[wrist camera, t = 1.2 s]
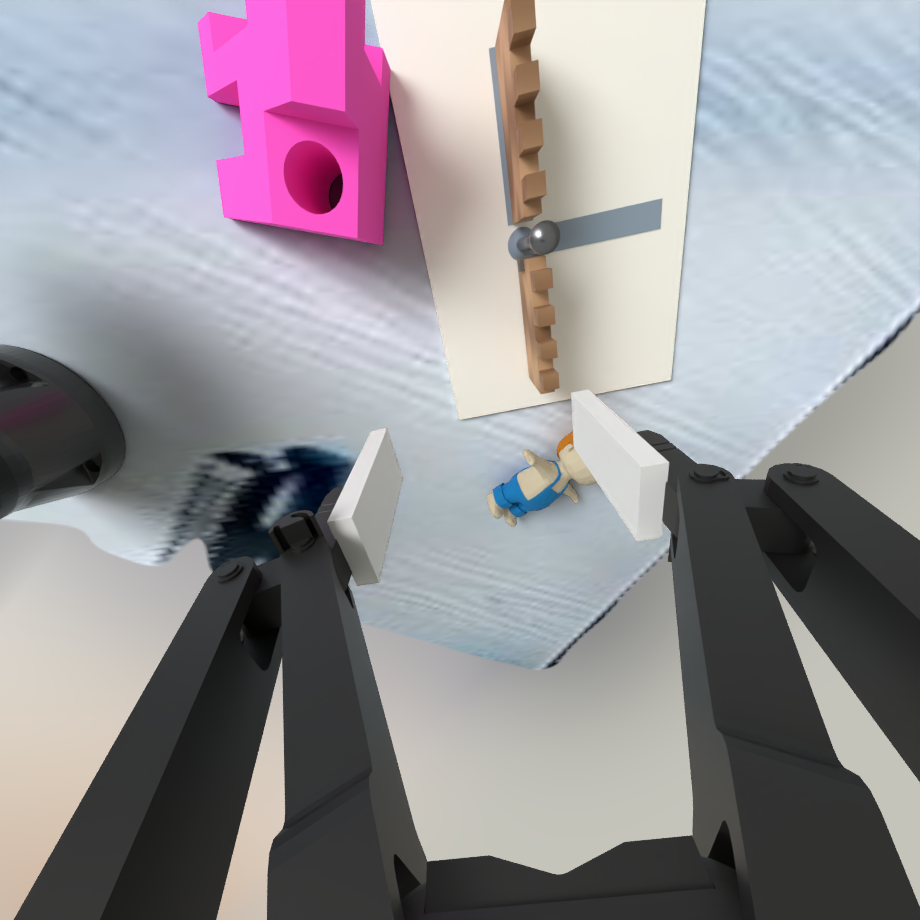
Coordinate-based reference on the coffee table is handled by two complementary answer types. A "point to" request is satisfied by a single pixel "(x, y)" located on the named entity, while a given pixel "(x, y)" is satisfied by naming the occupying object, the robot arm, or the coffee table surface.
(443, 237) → the card
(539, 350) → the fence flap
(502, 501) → the toy
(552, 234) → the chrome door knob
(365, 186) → the bracket
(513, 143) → the fence fixed
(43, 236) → the coffee table surface
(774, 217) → the coffee table surface
